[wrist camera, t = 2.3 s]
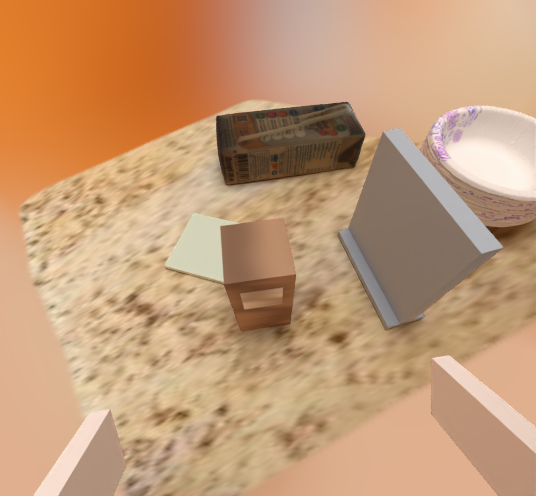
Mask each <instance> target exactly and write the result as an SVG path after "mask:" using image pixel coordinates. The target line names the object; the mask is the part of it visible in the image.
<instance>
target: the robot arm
mask: <svg viewBox="0 0 536 496" xmlns="http://www.w3.org/2000/svg"><path fill="white" fill-rule="evenodd" d="M431 414H432V415H433V417H434V418H435V419H436V420H437V422H438V423H439V424H440V425H441V426H442V428H443V429H444V430H445V431H446V433H447V434H448V435H449V436H450V437H451V439H452V440H453V441H454V442H455V443H456V445H457V446H458V447H459V448H460V450H461V451H462V452H463V453H464V454H465V456H466V457H467V458H468V459H469V461H470V462H471V463H472V464H473V465H474V467H475V468H476V469H477V470H478V472H480V474H481V475H482V476H483V478H484V479H485V480H486V481H487V482H488V484H489V485H490V486H491V487H492V489H493V490H494V491H495V492H496V493H497V495H498V496H536V426H534V425H533V424H532V423H531V422H530V421H528V420H527V419H526V418H525V417H523V416H522V415H521V414H520V413H519V412H517V411H516V410H515V409H514V408H512V407H511V406H510V405H509V404H508V403H506V402H505V401H504V400H503V399H502V398H500V397H499V396H498V395H497V394H496V393H494V392H493V391H492V390H491V389H490V388H488V387H487V386H486V385H485V384H483V383H482V382H481V381H480V380H479V379H477V378H476V377H475V376H474V375H473V374H471V373H470V372H469V371H468V370H466V369H465V368H464V367H463V366H462V365H460V364H459V363H458V362H457V361H456V360H454V359H453V358H452V357H451V356H449V355H447V356H441V357H435V358H432V366H431ZM125 467H126V463H125V460H124V456H123V452H122V449H121V445H120V442H119V438H118V435H117V431H116V428H115V424H114V420H113V417H112V413H111V410H110V409H107V410H101V411H95V412H90V413H89V415H88V416H87V418H86V419H85V421H84V422H83V424H82V425H81V427H80V428H79V429H78V431H77V433H76V434H75V435H74V437H73V438H72V440H71V441H70V443H69V444H68V446H67V447H66V449H65V450H64V451H63V453H62V454H61V456H60V457H59V459H58V460H57V462H56V463H55V465H54V466H53V468H52V469H51V471H50V472H49V473H48V475H47V476H46V478H45V479H44V481H43V482H42V484H41V485H40V487H39V488H38V490H37V491H36V492H35V494H34V496H113V495H114V493H115V491H116V488H117V486H118V484H119V481H120V479H121V477H122V474H123V472H124V469H125Z"/></svg>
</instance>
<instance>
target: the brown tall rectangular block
mask: <svg viewBox="0 0 536 496" xmlns="http://www.w3.org/2000/svg"><path fill="white" fill-rule="evenodd" d="M220 231H221V247H222V263H223V278H224V286H225V289H226V291H227V294H228V297H229V299H230V302H231V305H232V308H233V310H234V313H235V316H236V318H237V321H238V324H239V326H240V329H241V331H245V330H251V329H258V328H265V327H272V326H278V325H285V324H290V321H291V313H292V304H293V296H294V288H295V279H296V271H295V267H294V262H293V257H292V253H291V248H290V244H289V239H288V235H287V230H286V225H285V221H284V218H279V219H271V220H263V221H256V222H248V223H240V224H232V225H225V226H220Z"/></svg>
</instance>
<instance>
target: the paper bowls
mask: <svg viewBox="0 0 536 496" xmlns="http://www.w3.org/2000/svg"><path fill="white" fill-rule="evenodd" d="M420 152H421V153H422V154H423V155H424V156H425V157H426V158H427V160H428V161H429V162H430V163H431V164H432V165H433V167H434V168H435V169H436V170H437V171H438V172H439V173H440V175H441V176H442V177H443V178H444V179H445V180H446V182H447V183H448V184H449V185H450V186H451V187H452V188H453V190H454V191H455V192H456V193H457V194H458V195H459V197H460V198H461V199H462V200H463V201H464V202H465V203H466V205H467V206H468V207H469V208H470V209H471V210H472V212H473V213H474V214H475V215H476V216H477V217H478V218H479V220H480V221H481V222H482V223H483V224H484V225H485V226H493V227H509V226H517V225H522V224H525V223H528V222H530V221H533V220H535V219H536V118H533V117H531V116H529V115H526V114H523V113H520V112H517V111H514V110H509V109H505V108H500V107H492V106H467V107H462V108H457V109H454V110H451V111H449V112H447V113H445V114H444V115H442V116H441V117H440V118H439V119H438V120H437V121H436V122H435V123H434V124H433V126H432V127H431V129H430V131H429V133H428V135H427V137H426V139H425V140H424V142H423V144H422V146H421V148H420Z"/></svg>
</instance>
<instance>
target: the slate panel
mask: <svg viewBox="0 0 536 496" xmlns="http://www.w3.org/2000/svg"><path fill="white" fill-rule="evenodd" d="M338 237H339V239H340V241H341V243H342V245H343V247H344V249H345V251H346V253H347V255H348V257H349V259H350V261H351V263H352V264H353V266H354V268H355V270H356V272H357V274H358V276H359V278H360V280H361V282H362V284H363V286H364V288H365V290H366V292H367V294H368V296H369V298H370V300H371V302H372V304H373V306H374V308H375V310H376V312H377V314H378V316H379V318H380V320H381V322H382V324H383V326H384V328H385V330H386V329H390V328H393V327H396V326H400V325H403V324H406V323H410V322H413V321H416V320H419V319H422V318H423V317H425V315H424V314H423V312H424V311H425V310H426V309H428V308H429V307H430V306H431V305H433V304H434V303H435V302H436V301H438V300H439V299H440V298H441V297H443V296H444V295H445V294H446V293H447V292H449V291H450V290H451V289H452V288H454V287H455V286H456V285H457V284H459V283H460V282H461V281H462V280H464V279H465V278H466V277H467V276H469V275H470V274H471V273H472V272H474V271H475V270H476V269H477V268H479V267H480V266H481V265H482V264H484V263H485V262H486V261H487V260H489V259H490V258H491V257H492V256H494V255H495V254H496V253H497V252H499V251H500V250H501V249H502V248H504V247H503V246H502V245H501V244H500V243H499V242H498V240H497V239H496V238H495V237H494V236H493V235H492V233H491V232H490V231H489V230H488V229H487V228H486V227H485V225H484V224H483V223H482V222H481V221H480V220H479V218H478V217H477V216H476V215H475V214H474V213H473V212H472V210H471V209H470V208H469V207H468V206H467V205H466V203H465V202H464V201H463V200H462V199H461V198H460V197H459V195H458V194H457V193H456V192H455V191H454V190H453V188H452V187H451V186H450V185H449V184H448V183H447V182H446V180H445V179H444V178H443V177H442V176H441V175H440V173H439V172H438V171H437V170H436V169H435V168H434V167H433V165H432V164H431V163H430V162H429V161H428V160H427V158H426V157H425V156H424V155H423V154H422V153H421V152H420V150H419V149H418V148H417V147H416V146H415V145H414V143H413V142H412V141H411V140H410V139H409V138H408V137H407V135H406V134H405V133H404V132H403V131H402V130H401V129H400V128H397V129H392V130H387V131H383V133H382V136H381V139H380V141H379V144H378V147H377V150H376V153H375V156H374V158H373V161H372V164H371V167H370V170H369V172H368V175H367V178H366V181H365V184H364V186H363V189H362V192H361V195H360V198H359V201H358V203H357V206H356V209H355V212H354V215H353V217H352V220H351V223H350V226H349V229H345V230H341V231H339V232H338Z"/></svg>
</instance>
